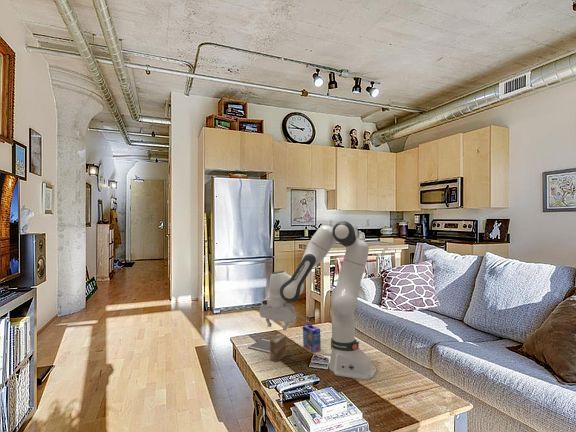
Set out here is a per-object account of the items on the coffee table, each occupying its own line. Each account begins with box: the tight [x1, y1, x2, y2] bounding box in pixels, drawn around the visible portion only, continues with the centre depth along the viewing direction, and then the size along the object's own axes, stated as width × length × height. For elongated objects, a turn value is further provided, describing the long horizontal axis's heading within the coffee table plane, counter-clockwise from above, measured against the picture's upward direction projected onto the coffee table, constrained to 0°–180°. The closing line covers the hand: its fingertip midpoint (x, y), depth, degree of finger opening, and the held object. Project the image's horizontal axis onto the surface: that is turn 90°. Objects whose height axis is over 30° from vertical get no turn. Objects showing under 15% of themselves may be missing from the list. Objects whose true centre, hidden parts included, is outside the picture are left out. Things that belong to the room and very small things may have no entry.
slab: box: [269, 333, 287, 363], centre depth 174 cm, size 4×9×11 cm, turn 150°
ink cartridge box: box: [302, 322, 322, 353], centre depth 186 cm, size 10×6×14 cm, turn 35°
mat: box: [247, 338, 270, 354], centre depth 189 cm, size 16×14×1 cm
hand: (277, 328), depth 174 cm, fingers open, 8 cm apart
